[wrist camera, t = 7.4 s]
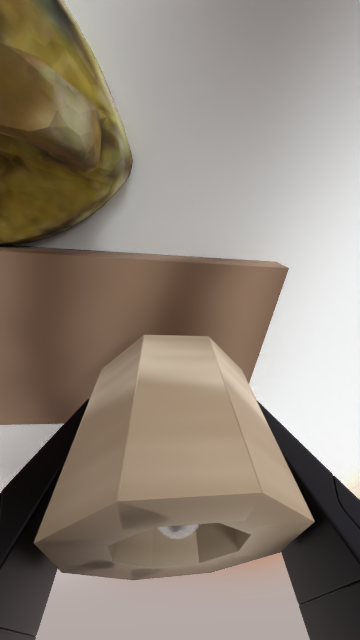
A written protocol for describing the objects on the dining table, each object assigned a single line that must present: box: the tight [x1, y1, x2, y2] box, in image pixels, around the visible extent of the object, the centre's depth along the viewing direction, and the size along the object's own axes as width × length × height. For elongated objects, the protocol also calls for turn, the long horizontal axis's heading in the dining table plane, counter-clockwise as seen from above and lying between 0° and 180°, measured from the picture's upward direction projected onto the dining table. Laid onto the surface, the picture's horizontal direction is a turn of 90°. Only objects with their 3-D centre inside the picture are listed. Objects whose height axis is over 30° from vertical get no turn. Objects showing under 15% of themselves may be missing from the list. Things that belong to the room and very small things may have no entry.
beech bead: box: [34, 335, 315, 580], centre depth 7 cm, size 6×6×5 cm
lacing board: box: [0, 245, 289, 425], centre depth 11 cm, size 22×11×1 cm, turn 86°
